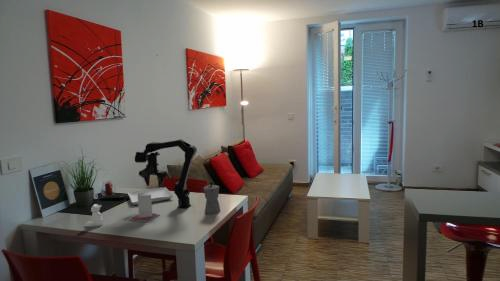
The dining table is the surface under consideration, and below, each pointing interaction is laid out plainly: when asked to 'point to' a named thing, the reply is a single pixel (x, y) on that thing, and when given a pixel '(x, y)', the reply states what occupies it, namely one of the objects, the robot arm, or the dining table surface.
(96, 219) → the sitting furry creature
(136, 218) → the ink pad tray
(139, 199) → the supplement box
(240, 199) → the dining table surface
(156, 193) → the square plate
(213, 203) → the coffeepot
